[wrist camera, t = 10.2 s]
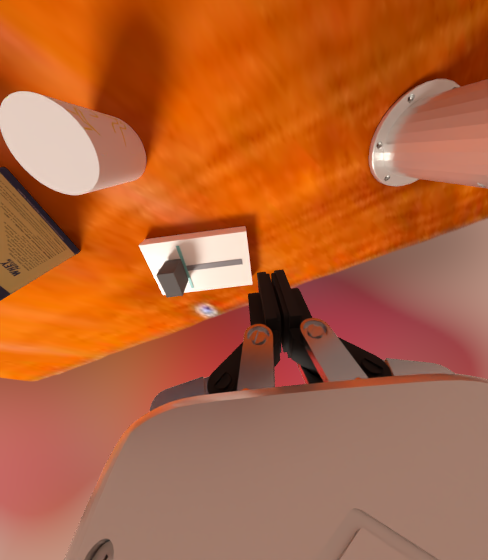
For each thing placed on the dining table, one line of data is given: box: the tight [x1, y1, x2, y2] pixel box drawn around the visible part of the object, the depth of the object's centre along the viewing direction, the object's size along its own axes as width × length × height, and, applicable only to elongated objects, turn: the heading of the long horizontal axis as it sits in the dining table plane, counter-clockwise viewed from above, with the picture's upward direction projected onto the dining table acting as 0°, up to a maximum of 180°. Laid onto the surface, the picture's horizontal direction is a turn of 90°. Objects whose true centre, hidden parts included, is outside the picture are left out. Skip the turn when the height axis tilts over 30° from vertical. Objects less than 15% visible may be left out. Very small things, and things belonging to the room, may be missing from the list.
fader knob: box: [156, 259, 188, 297], centre depth 34 cm, size 3×5×5 cm, turn 7°
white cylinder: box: [0, 91, 146, 195], centre depth 23 cm, size 8×8×12 cm
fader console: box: [139, 226, 252, 295], centre depth 37 cm, size 20×12×3 cm, turn 97°
